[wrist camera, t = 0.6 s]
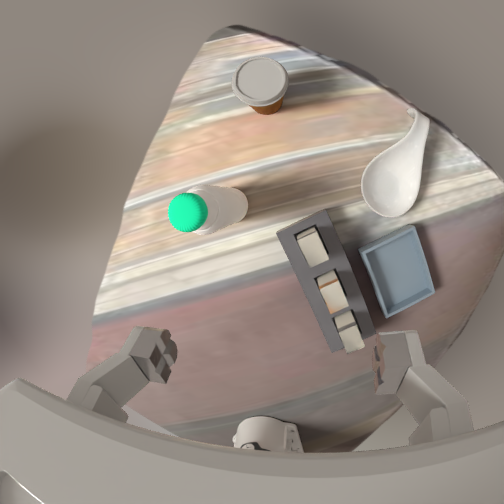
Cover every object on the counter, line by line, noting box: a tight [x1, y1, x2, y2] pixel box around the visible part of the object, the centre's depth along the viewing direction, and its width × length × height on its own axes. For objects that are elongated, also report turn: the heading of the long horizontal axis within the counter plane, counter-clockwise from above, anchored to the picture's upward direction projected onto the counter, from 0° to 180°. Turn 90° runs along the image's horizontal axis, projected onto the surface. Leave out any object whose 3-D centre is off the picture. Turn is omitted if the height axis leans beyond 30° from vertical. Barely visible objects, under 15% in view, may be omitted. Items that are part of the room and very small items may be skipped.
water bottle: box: [168, 185, 248, 235], centre depth 45 cm, size 7×7×25 cm
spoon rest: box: [361, 108, 430, 218], centre depth 47 cm, size 24×12×7 cm, turn 155°
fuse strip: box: [276, 209, 376, 353], centre depth 55 cm, size 27×10×4 cm, turn 27°
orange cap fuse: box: [317, 270, 349, 314], centre depth 52 cm, size 5×4×9 cm
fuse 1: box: [297, 226, 329, 268], centre depth 51 cm, size 5×4×9 cm
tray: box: [358, 224, 435, 318], centre depth 53 cm, size 15×12×4 cm
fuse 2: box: [334, 310, 365, 354], centre depth 53 cm, size 5×4×9 cm
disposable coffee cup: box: [232, 57, 289, 115], centre depth 46 cm, size 10×10×12 cm
